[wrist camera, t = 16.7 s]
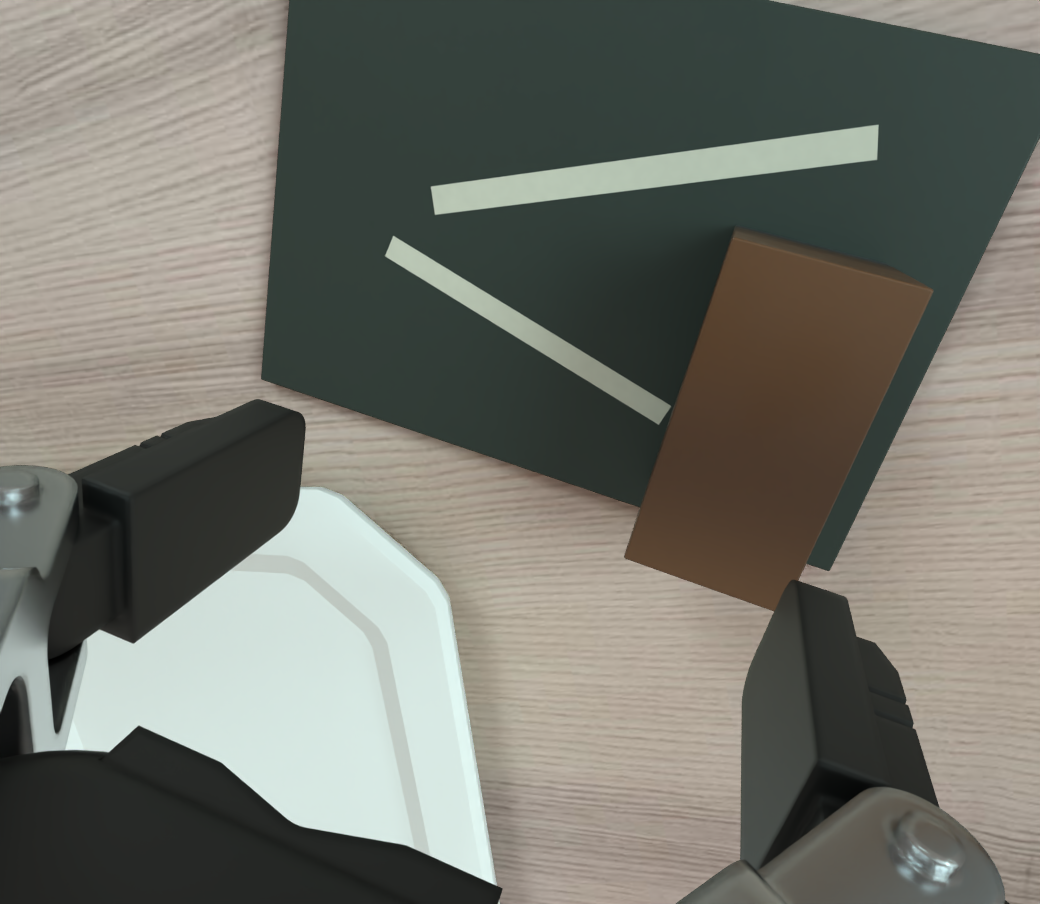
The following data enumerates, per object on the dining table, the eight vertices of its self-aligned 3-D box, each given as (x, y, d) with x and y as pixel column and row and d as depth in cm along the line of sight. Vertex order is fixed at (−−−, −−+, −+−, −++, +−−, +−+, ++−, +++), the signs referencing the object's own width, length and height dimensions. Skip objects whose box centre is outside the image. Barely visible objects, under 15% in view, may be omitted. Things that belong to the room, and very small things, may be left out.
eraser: (735, 223, 19) (732, 236, 14) (888, 263, 18) (934, 289, 14) (648, 483, 22) (623, 558, 18) (774, 525, 21) (782, 615, 17)
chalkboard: (305, -88, 20) (295, -95, 19) (1068, 64, 16) (1078, 60, 16) (268, 375, 26) (260, 379, 25) (828, 564, 22) (829, 572, 21)
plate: (528, 969, 33) (514, 1020, 31) (112, 875, 40) (79, 911, 38) (450, 468, 25) (425, 493, 23) (-49, 469, 32) (-101, 488, 30)
